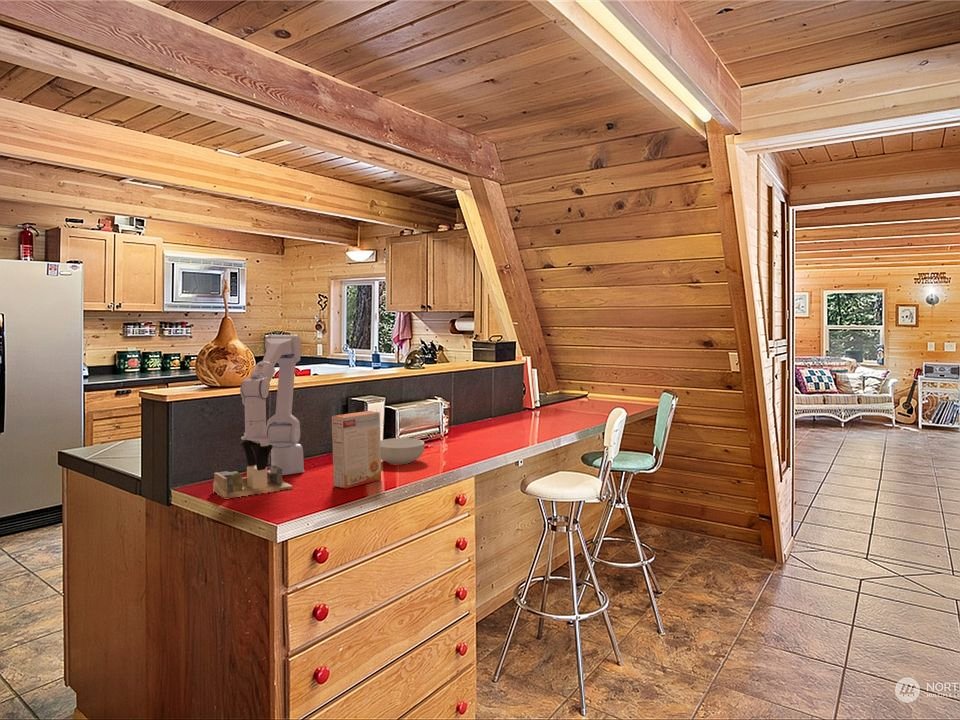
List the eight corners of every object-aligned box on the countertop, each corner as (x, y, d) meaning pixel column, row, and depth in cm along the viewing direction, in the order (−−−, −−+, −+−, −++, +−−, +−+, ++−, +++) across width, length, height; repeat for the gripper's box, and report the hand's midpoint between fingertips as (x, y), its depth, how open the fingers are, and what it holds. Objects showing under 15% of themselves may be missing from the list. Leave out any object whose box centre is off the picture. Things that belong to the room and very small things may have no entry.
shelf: (279, 482, 191) (279, 462, 191) (292, 488, 183) (292, 468, 183) (213, 492, 179) (213, 472, 179) (224, 499, 171) (224, 478, 171)
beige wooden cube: (261, 483, 186) (260, 464, 186) (267, 486, 182) (266, 467, 182) (247, 485, 184) (246, 466, 183) (253, 488, 180) (252, 469, 180)
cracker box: (368, 477, 197) (367, 410, 196) (382, 480, 193) (381, 411, 192) (331, 486, 186) (330, 415, 185) (345, 489, 182) (344, 416, 181)
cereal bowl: (364, 464, 215) (364, 444, 214) (393, 456, 229) (393, 436, 229) (406, 470, 207) (406, 448, 206) (433, 460, 222) (433, 440, 221)
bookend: (275, 480, 189) (275, 465, 189) (282, 483, 185) (282, 468, 184) (270, 480, 188) (270, 466, 188) (277, 484, 184) (276, 469, 183)
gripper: (233, 418, 185) (234, 464, 186) (250, 425, 174) (251, 474, 175) (257, 416, 189) (258, 461, 190) (275, 422, 178) (276, 470, 179)
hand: (256, 467), depth 183 cm, fingers open, 7 cm apart
